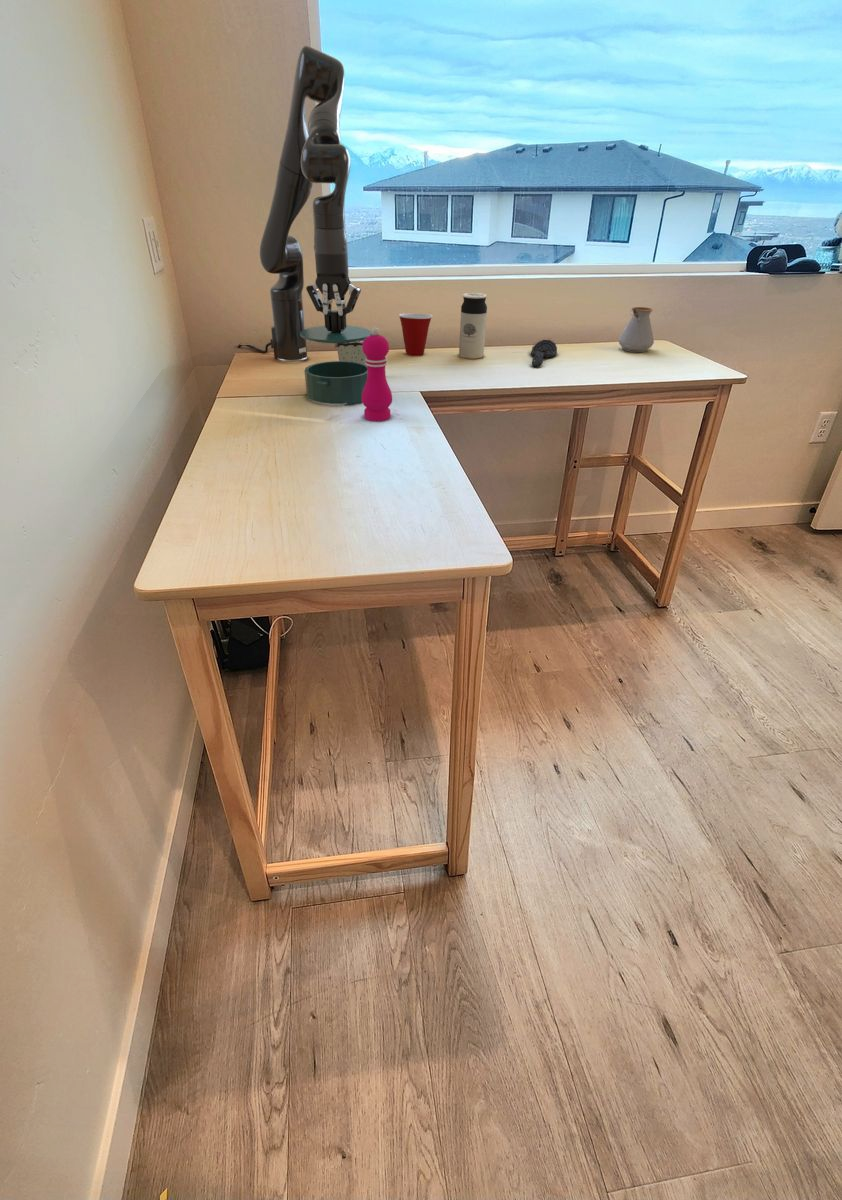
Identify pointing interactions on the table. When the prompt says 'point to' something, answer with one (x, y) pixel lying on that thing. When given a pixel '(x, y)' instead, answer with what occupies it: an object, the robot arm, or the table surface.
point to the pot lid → (335, 332)
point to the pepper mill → (376, 378)
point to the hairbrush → (543, 351)
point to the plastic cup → (415, 332)
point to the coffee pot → (638, 331)
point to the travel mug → (473, 326)
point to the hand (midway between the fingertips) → (335, 330)
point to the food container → (351, 351)
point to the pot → (336, 382)
